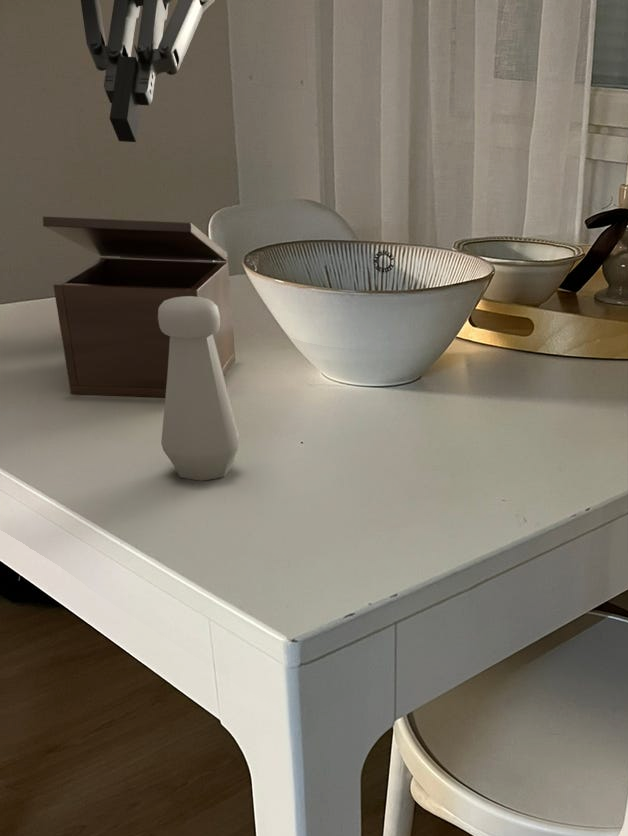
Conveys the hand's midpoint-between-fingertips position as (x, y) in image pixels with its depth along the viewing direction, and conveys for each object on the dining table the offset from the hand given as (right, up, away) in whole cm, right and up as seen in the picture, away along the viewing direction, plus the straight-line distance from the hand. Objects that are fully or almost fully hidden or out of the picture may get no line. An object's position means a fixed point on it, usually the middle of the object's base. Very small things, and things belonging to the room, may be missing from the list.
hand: (122, 130), depth 89 cm
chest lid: (0, -8, +6) cm, 10 cm away
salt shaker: (+9, -31, -9) cm, 34 cm away
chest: (-1, -18, +12) cm, 22 cm away
